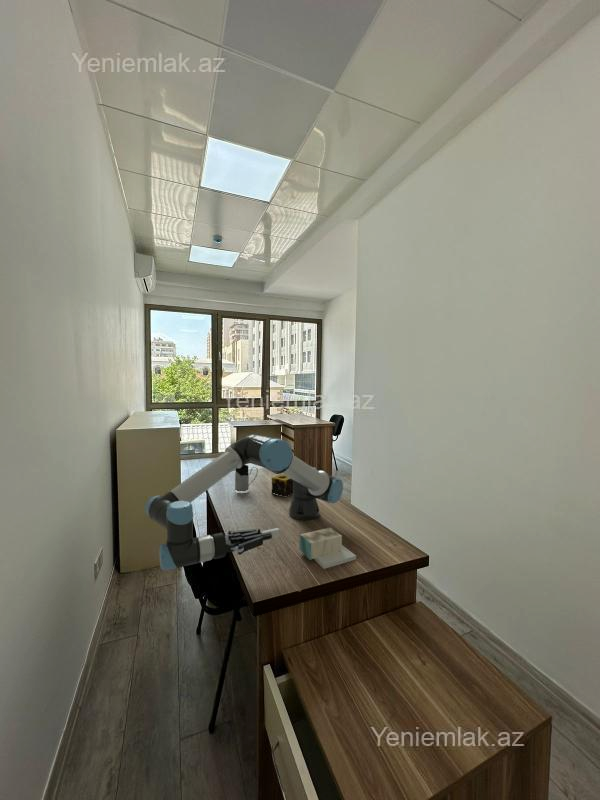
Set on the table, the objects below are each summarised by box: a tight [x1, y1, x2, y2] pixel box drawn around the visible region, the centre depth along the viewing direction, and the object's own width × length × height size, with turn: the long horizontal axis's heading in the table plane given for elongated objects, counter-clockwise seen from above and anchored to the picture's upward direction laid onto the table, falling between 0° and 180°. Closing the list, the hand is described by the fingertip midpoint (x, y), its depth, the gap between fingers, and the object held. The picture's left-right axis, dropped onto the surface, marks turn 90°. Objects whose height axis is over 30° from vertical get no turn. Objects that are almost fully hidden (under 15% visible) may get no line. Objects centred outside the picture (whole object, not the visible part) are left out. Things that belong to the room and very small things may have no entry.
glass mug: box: [234, 464, 259, 491], centre depth 195 cm, size 9×14×15 cm, turn 119°
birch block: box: [298, 527, 343, 561], centre depth 125 cm, size 8×6×14 cm
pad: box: [313, 544, 357, 570], centre depth 127 cm, size 18×14×2 cm
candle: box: [271, 473, 293, 497], centre depth 191 cm, size 10×10×10 cm
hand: (278, 532), depth 116 cm, fingers closed
